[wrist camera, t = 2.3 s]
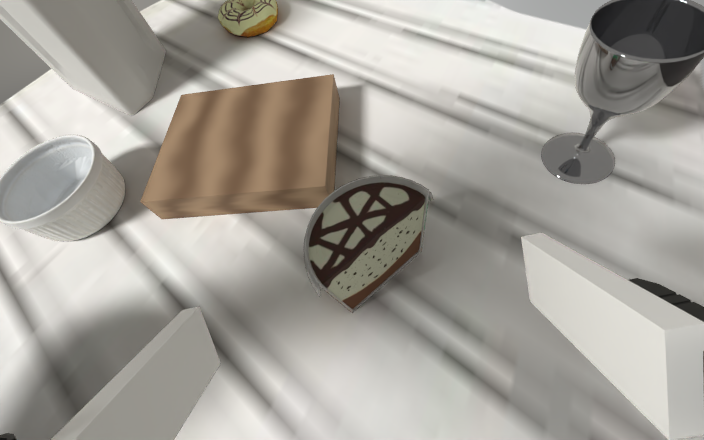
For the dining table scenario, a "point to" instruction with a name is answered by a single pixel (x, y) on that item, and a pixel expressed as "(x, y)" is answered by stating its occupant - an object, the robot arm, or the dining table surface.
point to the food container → (364, 236)
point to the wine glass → (625, 75)
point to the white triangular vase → (92, 46)
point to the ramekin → (61, 190)
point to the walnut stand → (248, 150)
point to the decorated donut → (248, 16)
